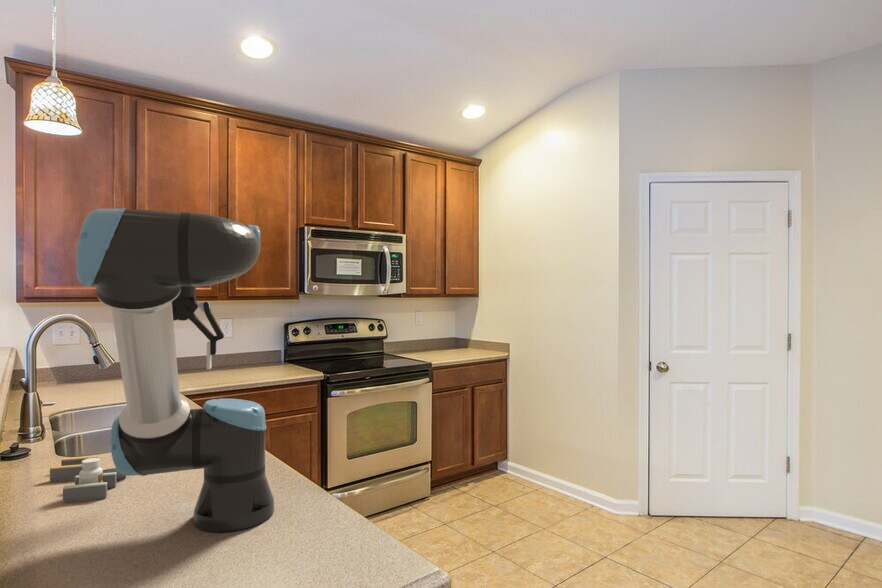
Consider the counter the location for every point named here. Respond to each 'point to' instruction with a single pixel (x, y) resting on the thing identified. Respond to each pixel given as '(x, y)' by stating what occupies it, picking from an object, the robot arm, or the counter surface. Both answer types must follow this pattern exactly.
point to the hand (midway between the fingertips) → (178, 369)
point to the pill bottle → (91, 471)
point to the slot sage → (89, 489)
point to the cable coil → (118, 475)
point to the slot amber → (68, 469)
